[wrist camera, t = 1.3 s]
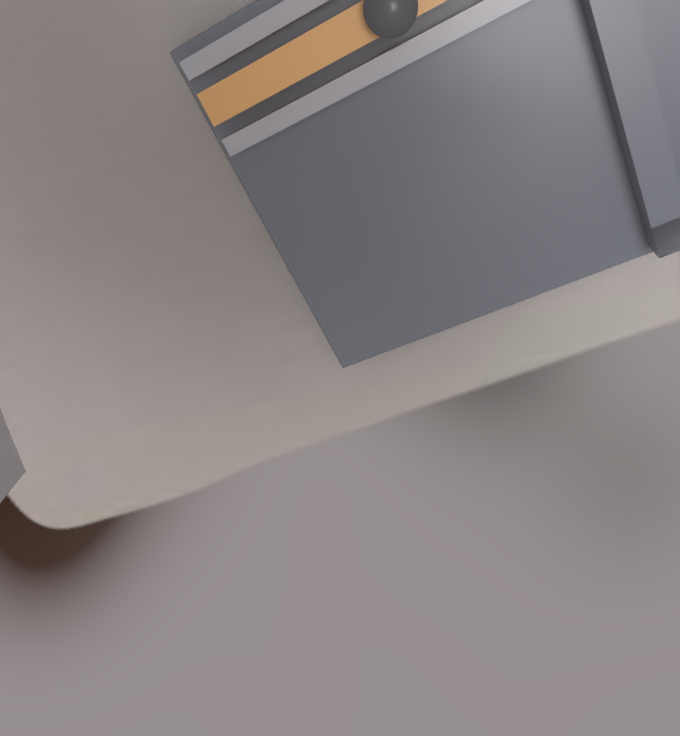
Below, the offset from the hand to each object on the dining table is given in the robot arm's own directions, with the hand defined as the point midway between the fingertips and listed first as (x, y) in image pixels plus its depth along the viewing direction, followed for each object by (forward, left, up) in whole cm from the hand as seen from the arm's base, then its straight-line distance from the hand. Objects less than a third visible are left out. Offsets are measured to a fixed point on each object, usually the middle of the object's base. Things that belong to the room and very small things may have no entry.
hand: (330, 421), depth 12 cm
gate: (-6, -2, -21) cm, 22 cm away
